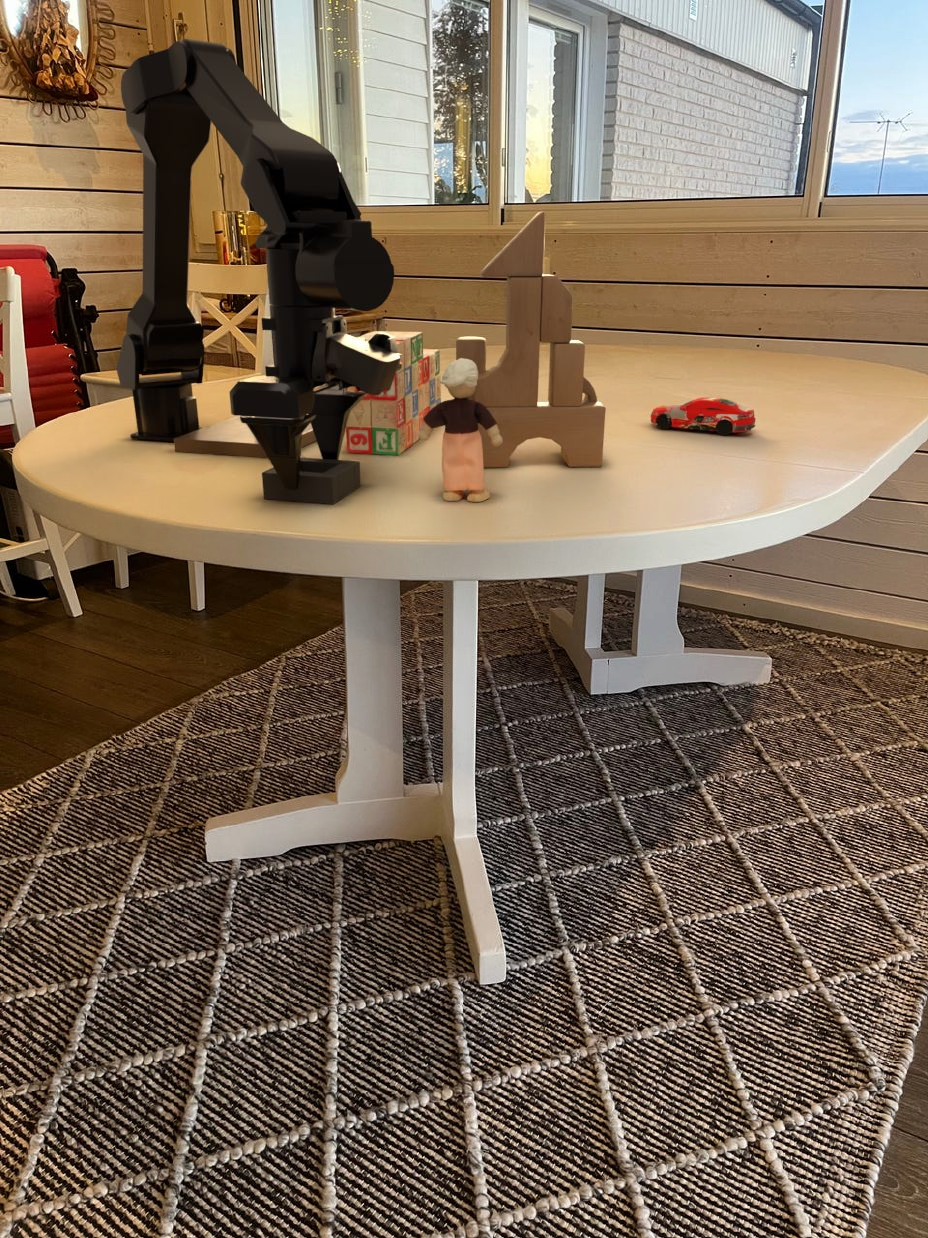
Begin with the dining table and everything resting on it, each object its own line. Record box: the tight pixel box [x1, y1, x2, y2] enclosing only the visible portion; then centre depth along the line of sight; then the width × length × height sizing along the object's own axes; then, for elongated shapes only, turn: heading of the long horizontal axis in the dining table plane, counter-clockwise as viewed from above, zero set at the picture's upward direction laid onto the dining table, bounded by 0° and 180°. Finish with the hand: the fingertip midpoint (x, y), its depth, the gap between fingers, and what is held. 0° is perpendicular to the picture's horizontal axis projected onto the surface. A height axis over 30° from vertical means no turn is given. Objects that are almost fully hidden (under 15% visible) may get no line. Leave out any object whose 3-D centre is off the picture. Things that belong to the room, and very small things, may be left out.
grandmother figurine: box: [418, 358, 503, 503], centre depth 84 cm, size 8×4×13 cm, turn 91°
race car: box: [650, 396, 756, 436], centre depth 117 cm, size 13×5×4 cm, turn 60°
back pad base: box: [173, 415, 317, 459], centre depth 109 cm, size 13×17×6 cm
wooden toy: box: [455, 211, 606, 469], centre depth 96 cm, size 16×7×25 cm, turn 93°
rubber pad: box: [261, 456, 362, 505], centre depth 87 cm, size 7×7×2 cm
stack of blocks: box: [345, 330, 442, 456], centre depth 110 cm, size 21×6×12 cm, turn 168°
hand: (312, 477), depth 87 cm, fingers open, 9 cm apart
